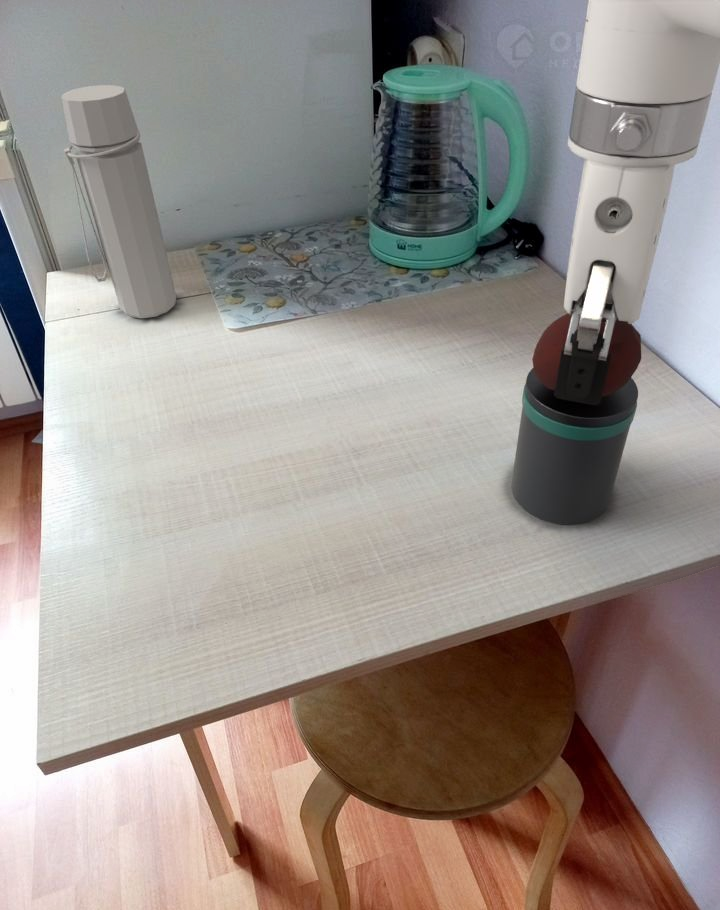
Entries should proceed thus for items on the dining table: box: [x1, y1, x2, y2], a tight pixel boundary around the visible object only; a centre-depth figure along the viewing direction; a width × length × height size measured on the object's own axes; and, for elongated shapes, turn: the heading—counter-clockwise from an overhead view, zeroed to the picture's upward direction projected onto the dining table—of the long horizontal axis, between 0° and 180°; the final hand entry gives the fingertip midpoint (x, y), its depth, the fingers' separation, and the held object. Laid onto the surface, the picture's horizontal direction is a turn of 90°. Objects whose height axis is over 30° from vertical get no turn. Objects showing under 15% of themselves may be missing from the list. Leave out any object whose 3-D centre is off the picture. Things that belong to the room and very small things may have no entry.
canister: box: [511, 367, 639, 526], centre depth 58 cm, size 9×9×11 cm
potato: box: [532, 308, 642, 397], centre depth 52 cm, size 7×8×6 cm
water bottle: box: [61, 84, 177, 319], centre depth 82 cm, size 9×8×25 cm
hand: (586, 363), depth 53 cm, fingers open, 9 cm apart
